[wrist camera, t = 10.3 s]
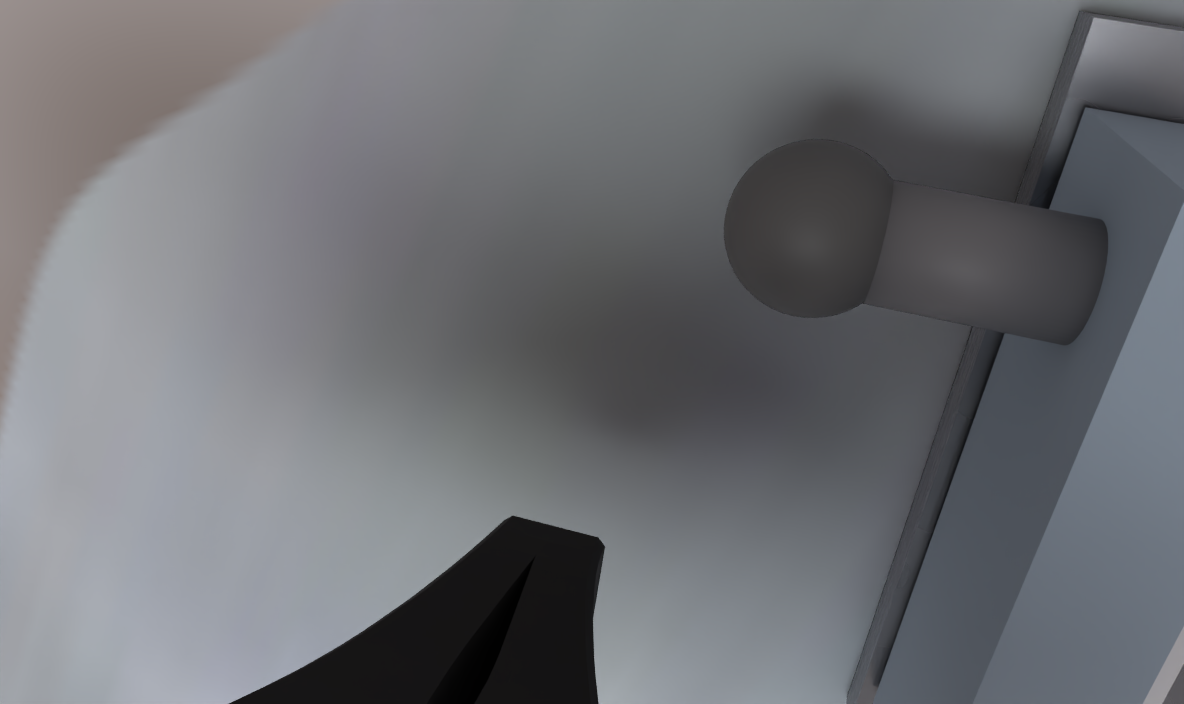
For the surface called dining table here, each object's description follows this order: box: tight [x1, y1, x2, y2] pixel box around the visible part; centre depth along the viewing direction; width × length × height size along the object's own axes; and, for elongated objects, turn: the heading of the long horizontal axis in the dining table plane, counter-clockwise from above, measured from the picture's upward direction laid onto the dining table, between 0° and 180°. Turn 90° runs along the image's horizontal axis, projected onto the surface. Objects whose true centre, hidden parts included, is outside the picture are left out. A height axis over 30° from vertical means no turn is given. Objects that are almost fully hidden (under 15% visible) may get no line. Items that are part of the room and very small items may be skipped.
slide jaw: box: [724, 107, 1184, 704], centre depth 12 cm, size 6×10×4 cm, turn 174°
